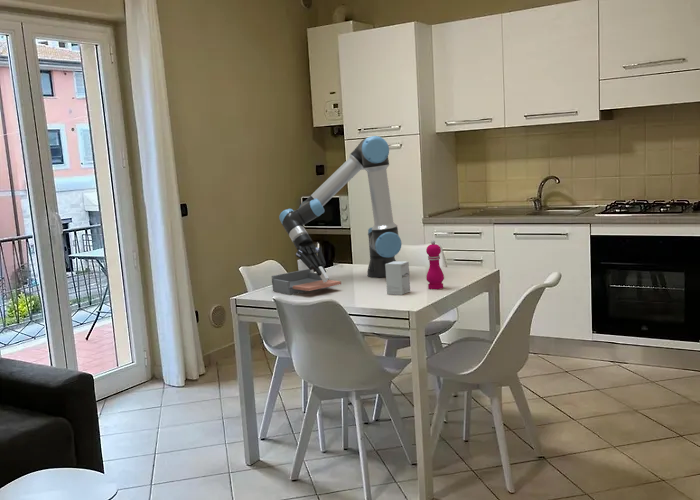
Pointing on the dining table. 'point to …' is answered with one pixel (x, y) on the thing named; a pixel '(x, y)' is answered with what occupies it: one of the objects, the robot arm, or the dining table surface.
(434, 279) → the pepper mill
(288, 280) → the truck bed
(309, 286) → the panel
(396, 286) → the supplement box
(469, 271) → the dining table surface
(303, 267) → the white cup
